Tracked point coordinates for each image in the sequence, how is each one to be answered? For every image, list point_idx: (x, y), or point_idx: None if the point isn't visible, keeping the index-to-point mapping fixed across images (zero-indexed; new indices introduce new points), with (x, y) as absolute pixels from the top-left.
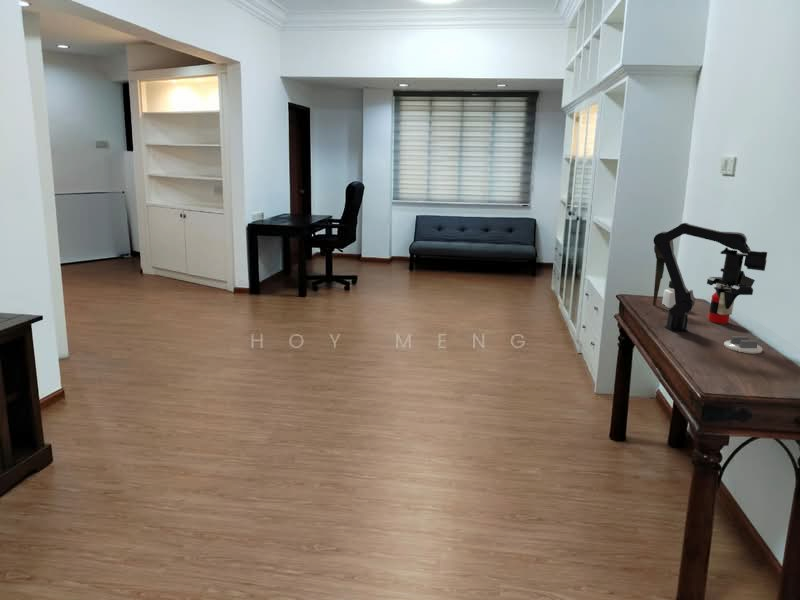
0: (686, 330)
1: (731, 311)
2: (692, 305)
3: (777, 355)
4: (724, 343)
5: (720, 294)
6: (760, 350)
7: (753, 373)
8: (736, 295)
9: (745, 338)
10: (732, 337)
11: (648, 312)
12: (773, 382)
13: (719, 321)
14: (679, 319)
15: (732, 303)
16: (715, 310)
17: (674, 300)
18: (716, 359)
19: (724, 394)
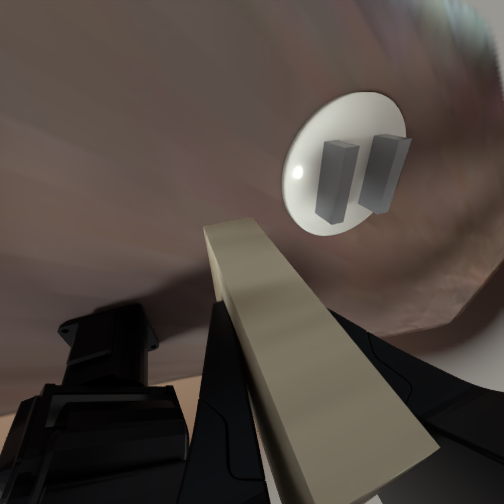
0: (143, 310)
1: (263, 237)
2: (176, 436)
3: (437, 62)
4: (312, 233)
5: (281, 501)
6: (405, 135)
7: (458, 242)
8: (487, 408)
9: (351, 162)
10: (337, 222)
11: None
12: (495, 227)
13: None
14: (147, 375)
15: (304, 296)
16: None
17: None
18: (385, 283)
19: (465, 305)
